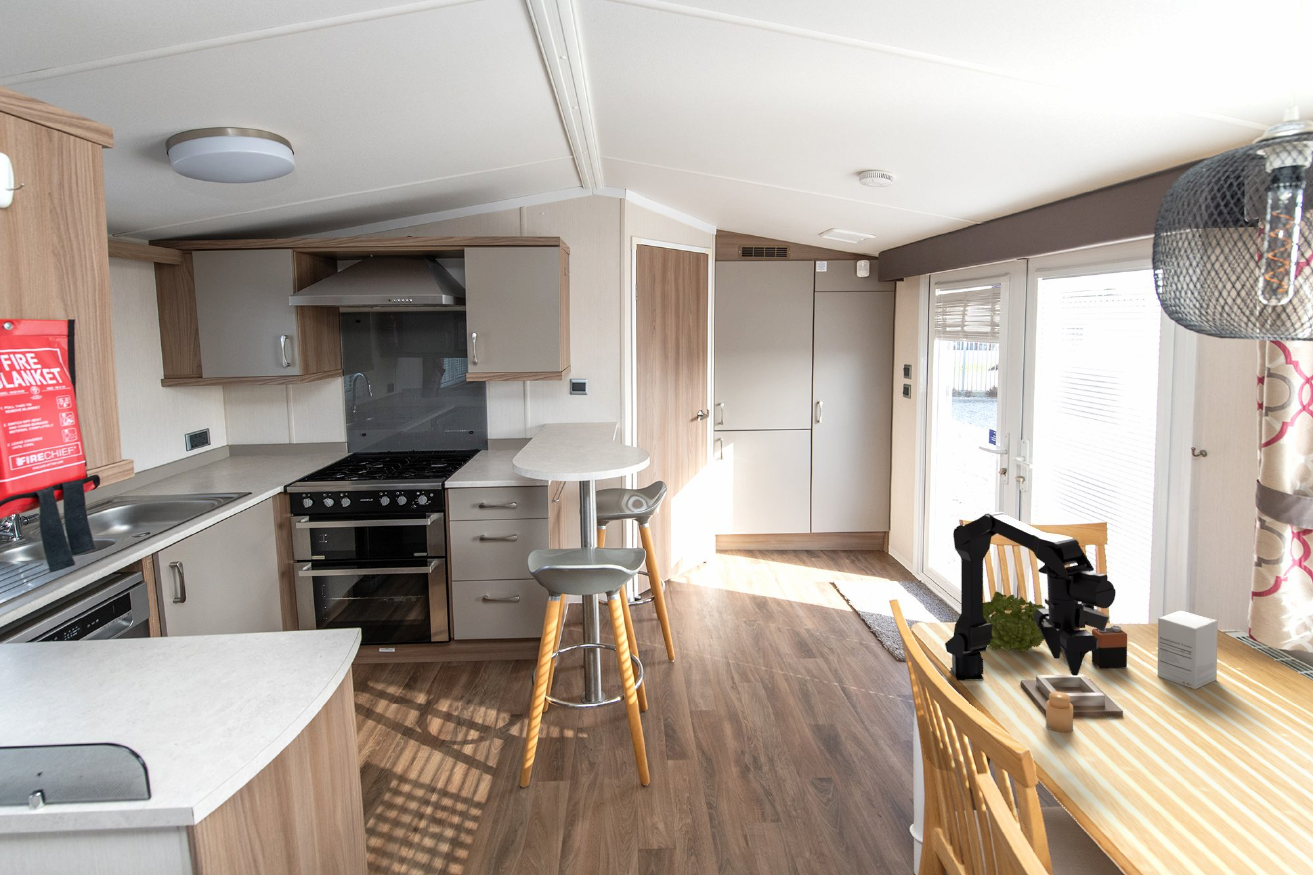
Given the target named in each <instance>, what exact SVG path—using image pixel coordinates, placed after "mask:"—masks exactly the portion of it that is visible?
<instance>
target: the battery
mask: <svg viewBox="0 0 1313 875" xmlns="http://www.w3.org/2000/svg"><path fill="white" fill-rule="evenodd" d="M1091 634H1092V635H1093V636H1095V637H1096V638H1097V639H1098V649H1094V650H1093V651H1091V662H1092V663H1093V664H1094V665H1095V666H1096V667H1098V668H1099V669H1101V670H1104V669H1122V668H1123V669H1125V668H1127V666H1128V633H1126V631H1124V630H1122V627H1121V626H1119V625H1111V627H1106V628H1105V630H1104V631H1101V630H1099V629H1098V628H1092V629H1091Z"/></svg>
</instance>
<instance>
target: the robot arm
mask: <svg viewBox="0 0 1313 875" xmlns="http://www.w3.org/2000/svg"><path fill="white" fill-rule="evenodd" d="M996 535H999V536H1001V537H1004V538H1006V539H1007V540H1009V541H1012V542H1014V543H1016V544H1018V545H1020V546H1022V547H1024V548H1026V549H1028V550H1029V551H1031V552H1033V554H1034V556H1035V557H1036V559H1037V560H1038V561H1040V562H1042V563H1043V564H1044V565H1043V566H1041V567H1040V568H1038V570H1037V572H1038V573H1041V574H1045V575H1047V576H1046V578H1047V579H1046V580H1047V581H1046V583H1047V597H1045V598H1044V604H1046V605H1047V606H1048V607H1047V608H1045V609H1037V610H1036V611H1035V612H1034V613H1033V614H1034V622H1036V623H1037V624H1036V625H1037V627H1038V629H1039V630H1040V632H1041V634H1042V636H1043V638H1044V642H1045V643H1046V645H1047V647H1048V650H1049V651H1050V653H1051V655H1052V657H1053V659H1054V660H1059V659H1060V658H1061V653H1062V654H1063V657H1064V659H1065V662H1066V665H1067V667H1068V669H1069V672H1070V673H1071V674H1070V675H1073V676H1077V675H1078V674H1079V673H1080V670H1081V667H1082V664H1083V661H1084V659H1085V656H1086V654H1088V653H1089V652H1092V651H1093V650H1094V649H1098V639H1097V638H1096V637H1095V636H1093V635H1092V632H1090V631H1088V630H1087V629H1086V626H1088V627H1090V628H1091V627H1092V628H1093V629H1097V628H1098V629H1099V630H1101V631H1104V630H1105V628H1107V625H1108V621H1109V619H1110V617H1109V616H1108V615H1107V614H1106V613H1104V612H1102V611H1100V610H1098V609H1095V607H1096V608H1100V609H1108V608H1109V607H1111V606H1112V604H1113V603H1114V601H1115V599H1116V589H1115V587H1114V585H1113V583H1112V582H1111V581H1110V580H1108V574H1106V573H1097V572H1093V571H1094V570H1095V568H1094V567H1093V565H1092V564H1091V561H1090V560H1089V559H1088V557H1087V556H1086V554H1085V553H1084V551H1083V549H1082V547H1081V546H1080V543H1079V541H1078V539H1075V538H1074V537H1072V536H1067V535H1063V534H1058V533H1049V532H1044V531H1041V530H1039V529H1037V528H1035V527H1033V526H1030V524H1029V525H1028V524H1026V523H1024V522H1022V521H1020V520H1017V519H1015V518H1013V517H1011V516H1008V515H1007V514H1006V513H1005V512H1003V511H995V512H988V513H985V514H984V515H982V516H981V517H979V518H977V519H974V520H973V521H971V522H968V523H964V524H960V525H958V526H956V527H955V528H954V529H953V533H952V536H953V543H954V544H953V546H954V549H955V551H956V552H957V554H958V555H959V557H960V560H961V562H960V563H961V568H960V569H961V572H960V573H961V574H960V576H961V577H960V578H961V580H960V581H961V583H960V585H961V586H960V587H961V588H960V589H961V590H960V591H961V592H960V594H961V596H960V597H961V600H960V602H961V603H960V604H961V606H960V607H961V610H960V611H961V613H960V615H959V617H958V619H956V622H955V623H954V631H953V636H952V637H951V638H949V640H947V641H946V642H945V643H944V646H945V649H946V650H945V651H946V652H947V653H949V654H951V663H952V664H951V667H950V668H949V670H950V669H951V670H950V671H952V672H951V673H952V675H953V677H954V678H955V679H956V681H966V680H965V679H983V680H984V678H985V677H984V676H983V675H984V658H983V656H982V653H981V652H986V651H987V649H988V647H989V646H988V645H989V644H990V642H991V639H993V637H992V624H991V623H988V622H987V621H986V619H985V618H984V616H983V603H984V559H985V558H986V555H987V553H988V552H989V550H990V547H991V543H992V537H994V536H996ZM1073 564H1075V565H1073ZM1078 627H1079V628H1080V630H1076V628H1078ZM1061 650H1062V652H1061Z"/></svg>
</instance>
